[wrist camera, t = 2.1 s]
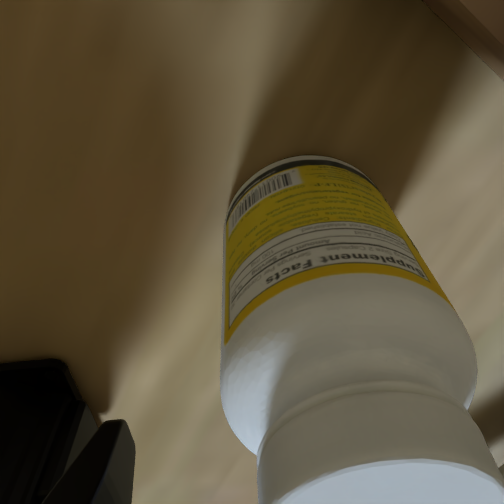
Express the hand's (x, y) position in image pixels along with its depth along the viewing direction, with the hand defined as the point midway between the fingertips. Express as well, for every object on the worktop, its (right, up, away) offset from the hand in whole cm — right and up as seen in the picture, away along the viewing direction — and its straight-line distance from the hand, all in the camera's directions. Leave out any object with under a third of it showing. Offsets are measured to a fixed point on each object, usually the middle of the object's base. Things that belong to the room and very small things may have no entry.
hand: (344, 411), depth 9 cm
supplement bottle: (0, +4, +6) cm, 8 cm away
